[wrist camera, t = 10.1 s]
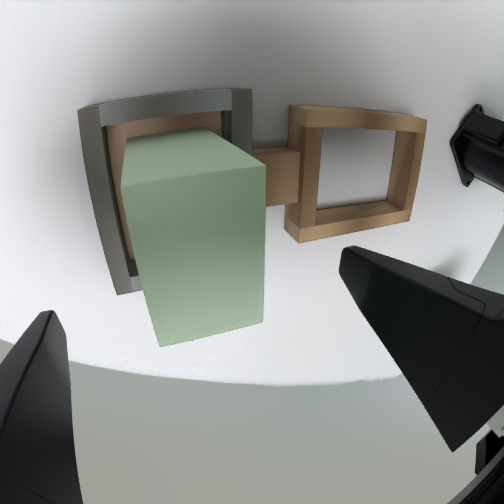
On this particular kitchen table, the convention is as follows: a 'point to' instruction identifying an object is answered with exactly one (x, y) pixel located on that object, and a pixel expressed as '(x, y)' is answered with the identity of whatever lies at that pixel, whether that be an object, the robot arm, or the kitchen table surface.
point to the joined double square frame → (240, 134)
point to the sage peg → (196, 231)
